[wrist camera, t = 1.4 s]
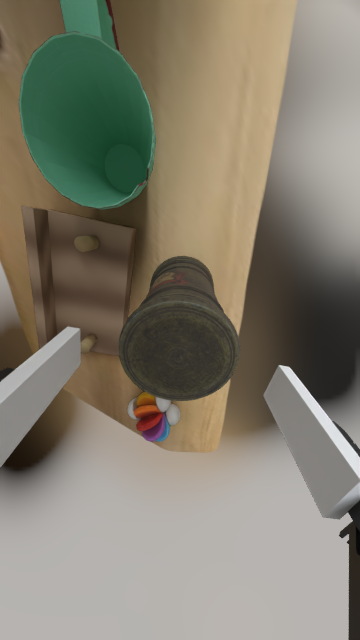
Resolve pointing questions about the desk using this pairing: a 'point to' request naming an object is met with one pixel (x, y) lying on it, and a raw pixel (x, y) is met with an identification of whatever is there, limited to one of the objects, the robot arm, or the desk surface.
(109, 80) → the mug
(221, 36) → the desk surface
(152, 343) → the container
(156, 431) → the rainbow striped lobed toy
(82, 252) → the ledge
